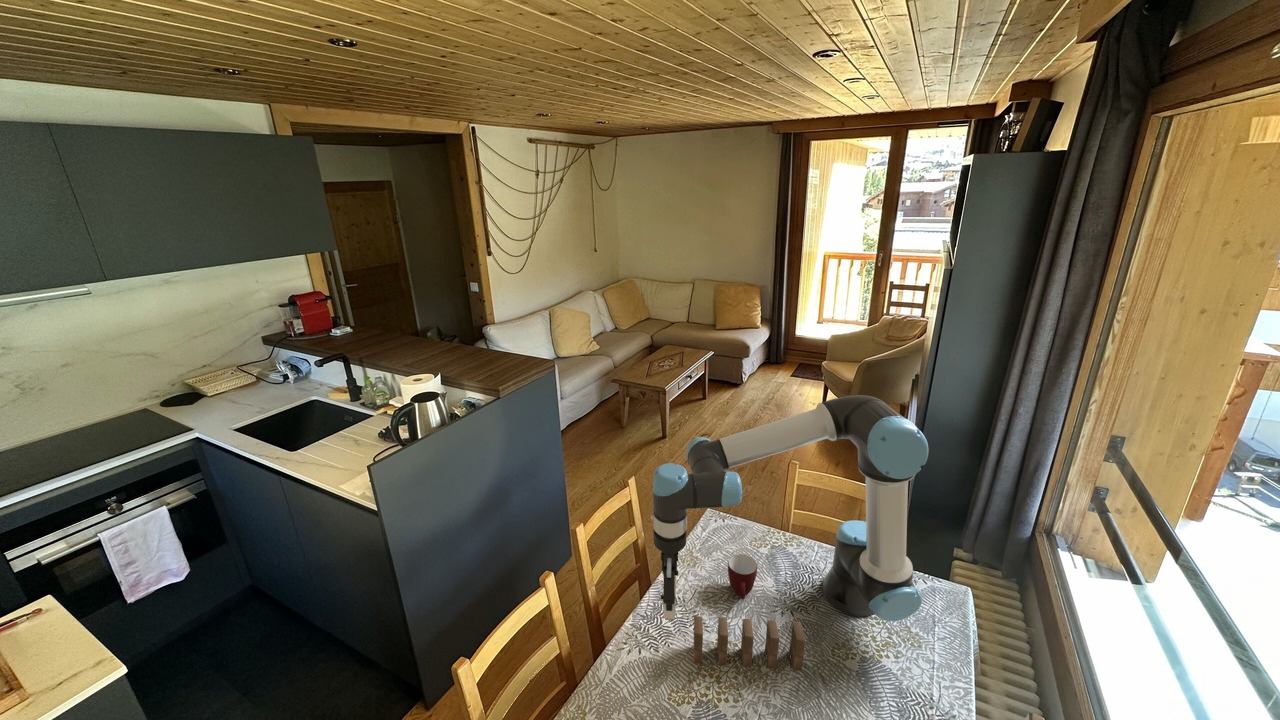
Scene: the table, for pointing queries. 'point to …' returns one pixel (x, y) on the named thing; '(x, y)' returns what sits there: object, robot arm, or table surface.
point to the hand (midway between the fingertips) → (669, 607)
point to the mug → (742, 574)
